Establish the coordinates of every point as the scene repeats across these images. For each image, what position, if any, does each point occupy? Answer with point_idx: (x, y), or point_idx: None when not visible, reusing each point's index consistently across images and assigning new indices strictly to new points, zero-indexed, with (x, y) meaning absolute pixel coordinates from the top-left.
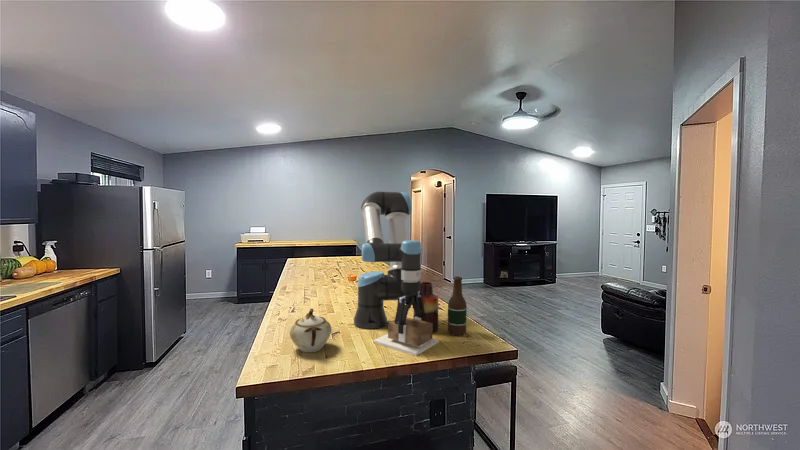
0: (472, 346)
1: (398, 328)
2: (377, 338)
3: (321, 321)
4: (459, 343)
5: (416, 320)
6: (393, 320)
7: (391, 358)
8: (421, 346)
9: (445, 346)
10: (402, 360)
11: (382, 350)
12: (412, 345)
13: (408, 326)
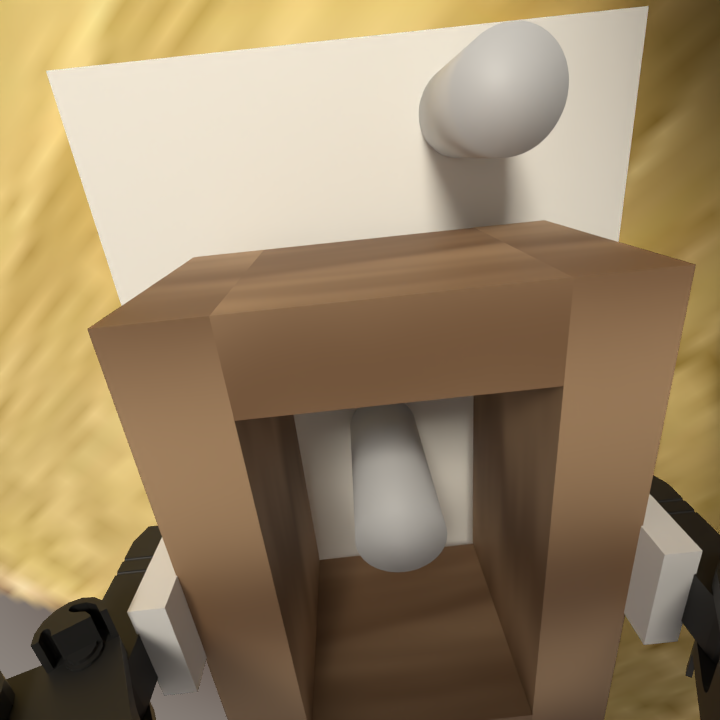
0: (628, 696)
1: (109, 589)
2: (144, 64)
3: None
4: (636, 635)
5: (585, 585)
6: (291, 309)
7: (24, 498)
8: (355, 555)
9: None
10: (82, 566)
11: (46, 334)
12: (317, 498)
13: (257, 664)
